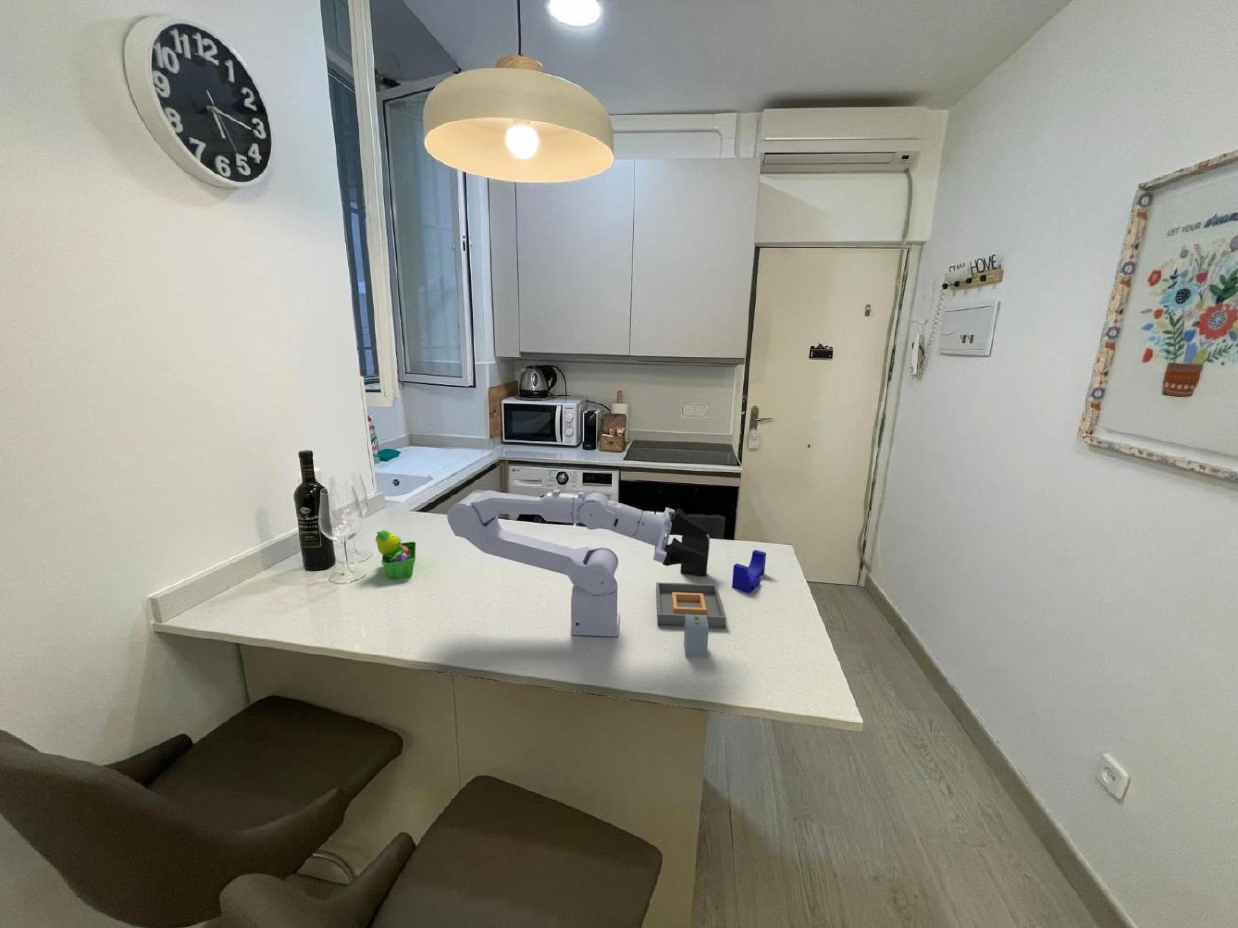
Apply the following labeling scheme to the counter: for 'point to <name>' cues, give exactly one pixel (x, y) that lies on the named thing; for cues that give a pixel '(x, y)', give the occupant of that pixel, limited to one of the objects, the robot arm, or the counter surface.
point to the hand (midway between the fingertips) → (705, 547)
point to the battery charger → (701, 547)
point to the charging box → (688, 603)
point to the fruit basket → (396, 555)
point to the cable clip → (749, 573)
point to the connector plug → (696, 635)
